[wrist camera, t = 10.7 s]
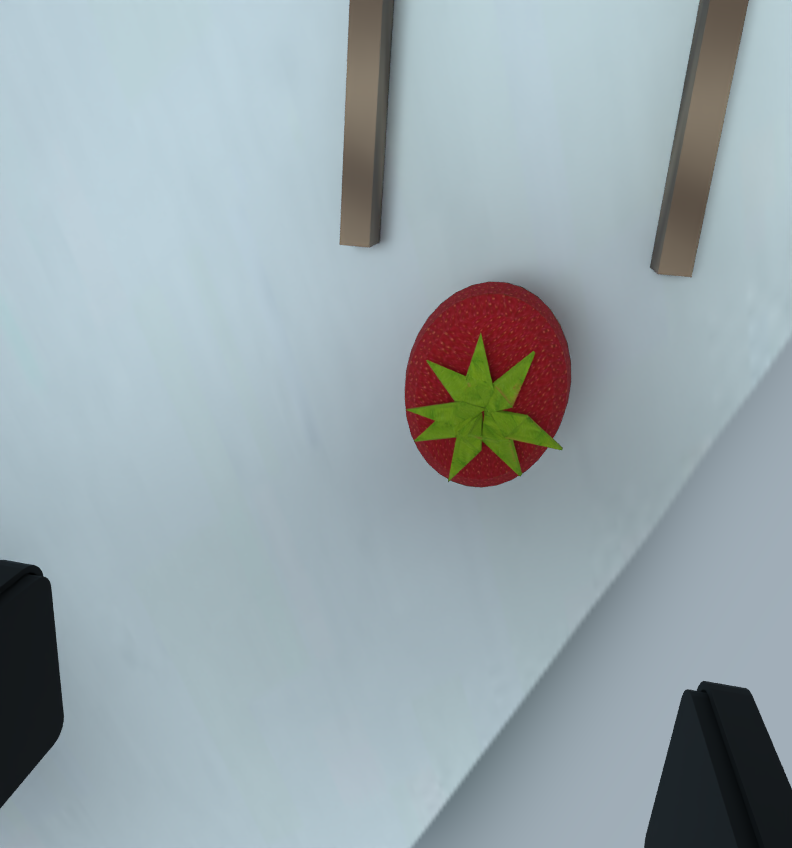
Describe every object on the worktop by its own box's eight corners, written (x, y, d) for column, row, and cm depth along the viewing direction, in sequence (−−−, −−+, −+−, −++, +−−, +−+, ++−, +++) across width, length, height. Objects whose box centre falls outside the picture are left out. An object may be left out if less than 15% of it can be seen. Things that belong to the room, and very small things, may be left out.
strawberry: (583, 276, 29) (605, 325, 20) (543, 445, 32) (546, 558, 23) (440, 251, 30) (397, 288, 21) (413, 420, 33) (364, 519, 24)
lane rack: (681, 270, 29) (702, 285, 25) (351, 239, 31) (325, 249, 27) (791, -276, 23) (840, -362, 19) (375, -270, 25) (346, -347, 21)
